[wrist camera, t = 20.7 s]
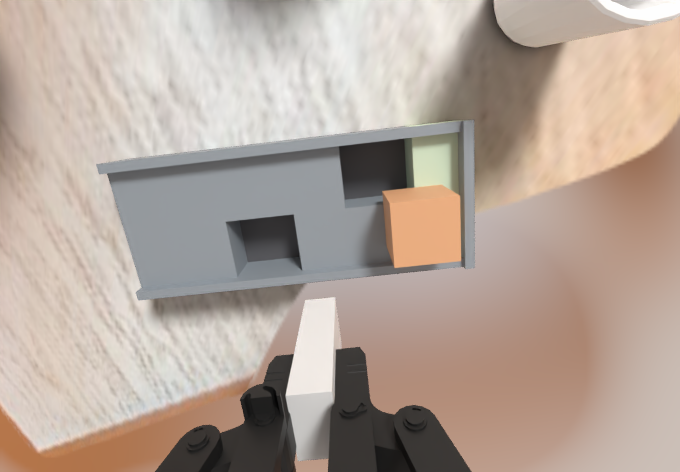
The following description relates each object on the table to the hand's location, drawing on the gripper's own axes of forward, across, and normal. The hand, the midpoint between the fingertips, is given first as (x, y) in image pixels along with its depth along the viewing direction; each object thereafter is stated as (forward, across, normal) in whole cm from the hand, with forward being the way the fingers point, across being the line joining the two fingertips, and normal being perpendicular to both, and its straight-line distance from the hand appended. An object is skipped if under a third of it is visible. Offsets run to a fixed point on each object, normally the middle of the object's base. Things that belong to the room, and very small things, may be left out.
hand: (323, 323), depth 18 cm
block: (+14, +7, +1) cm, 16 cm away
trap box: (+18, -3, +2) cm, 19 cm away
